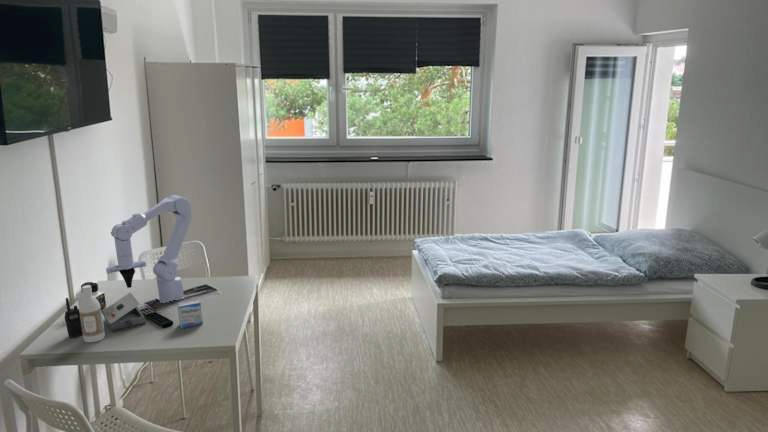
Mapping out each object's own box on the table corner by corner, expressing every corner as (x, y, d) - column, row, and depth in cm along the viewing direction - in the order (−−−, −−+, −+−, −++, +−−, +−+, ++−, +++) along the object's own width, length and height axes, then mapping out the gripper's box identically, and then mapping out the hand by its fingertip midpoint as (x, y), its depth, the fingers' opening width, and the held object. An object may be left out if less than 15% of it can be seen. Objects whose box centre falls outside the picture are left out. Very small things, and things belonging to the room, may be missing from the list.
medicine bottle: (95, 315, 234) (90, 286, 231) (79, 314, 235) (74, 285, 233) (107, 308, 241) (102, 280, 238) (91, 307, 242) (87, 279, 239)
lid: (131, 293, 233) (129, 290, 232) (139, 304, 221) (137, 301, 220) (102, 313, 228) (99, 309, 227) (109, 325, 216) (106, 322, 216)
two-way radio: (68, 339, 213) (62, 300, 209) (66, 335, 216) (60, 296, 213) (85, 334, 216) (79, 296, 213) (83, 330, 220) (77, 292, 216)
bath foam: (81, 344, 208) (72, 290, 204) (86, 336, 215) (78, 284, 210) (102, 341, 210) (94, 288, 205) (107, 333, 217) (99, 282, 212)
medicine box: (181, 328, 219) (178, 306, 217) (179, 324, 223) (176, 303, 221) (203, 324, 222) (200, 302, 220) (201, 320, 226) (198, 298, 224)
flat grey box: (135, 310, 237) (134, 303, 236) (147, 326, 222) (146, 318, 221) (103, 318, 231) (102, 311, 230) (112, 334, 215) (111, 327, 215)
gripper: (106, 260, 225) (111, 293, 228) (146, 253, 233) (150, 285, 236) (103, 256, 231) (108, 288, 234) (142, 249, 239) (146, 280, 242)
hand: (129, 286), depth 235 cm, fingers closed
